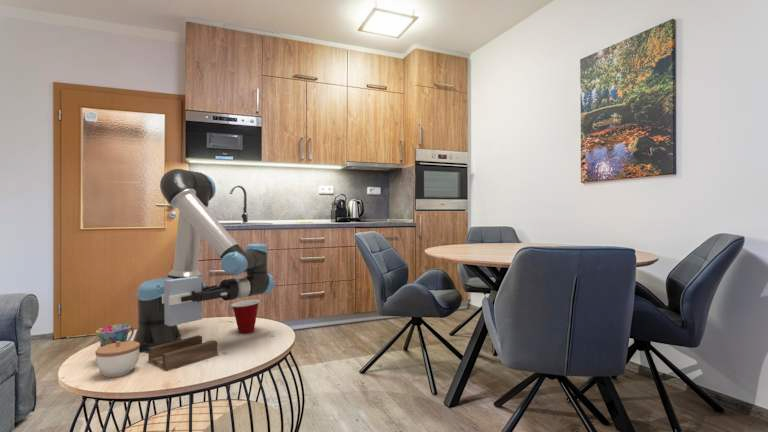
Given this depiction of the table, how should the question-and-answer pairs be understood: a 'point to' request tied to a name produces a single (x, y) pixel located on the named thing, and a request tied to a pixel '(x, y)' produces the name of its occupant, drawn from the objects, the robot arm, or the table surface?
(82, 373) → the table surface
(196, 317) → the slate tile
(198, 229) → the robot arm
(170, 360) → the walnut rack
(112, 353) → the lidded jar
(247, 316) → the plastic cup
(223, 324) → the table surface
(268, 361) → the table surface
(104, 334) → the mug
